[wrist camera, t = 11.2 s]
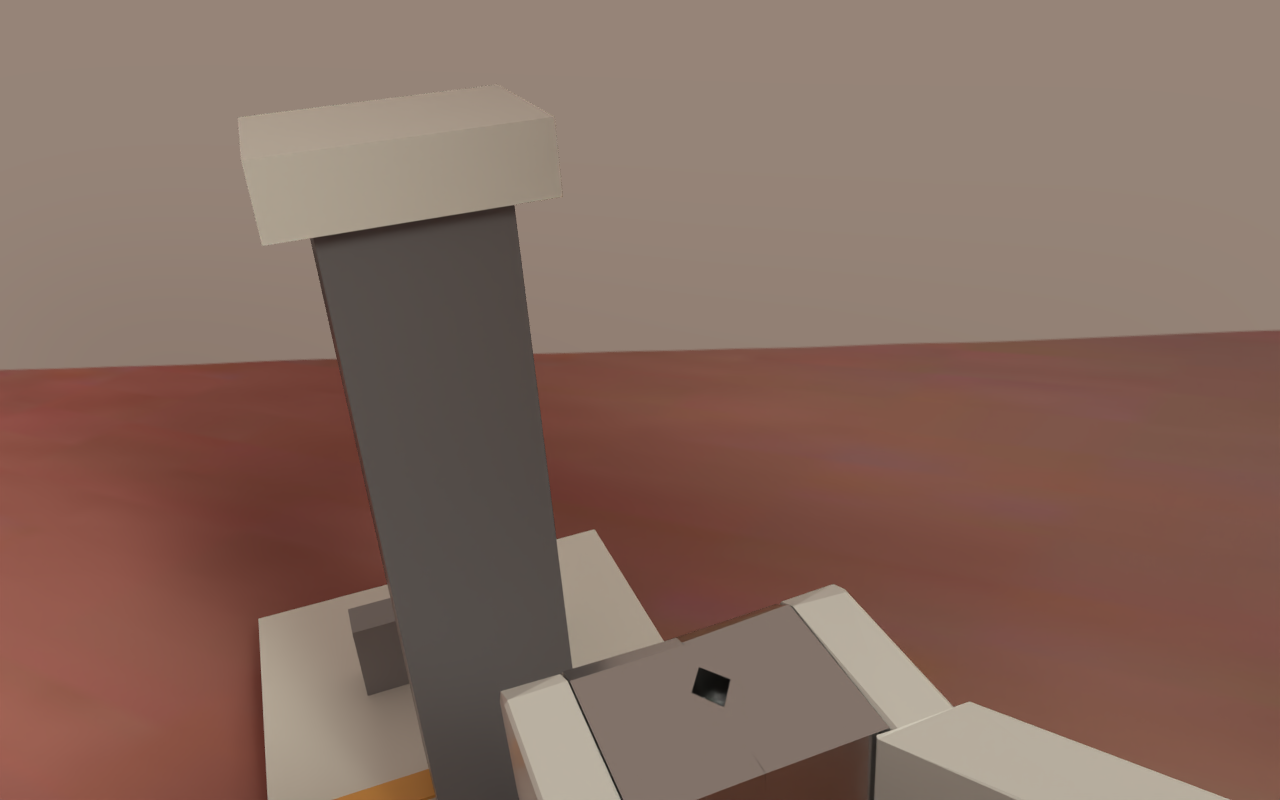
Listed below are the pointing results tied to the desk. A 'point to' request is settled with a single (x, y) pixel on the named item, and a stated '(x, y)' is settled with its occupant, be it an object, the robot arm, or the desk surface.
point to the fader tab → (436, 385)
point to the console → (398, 681)
